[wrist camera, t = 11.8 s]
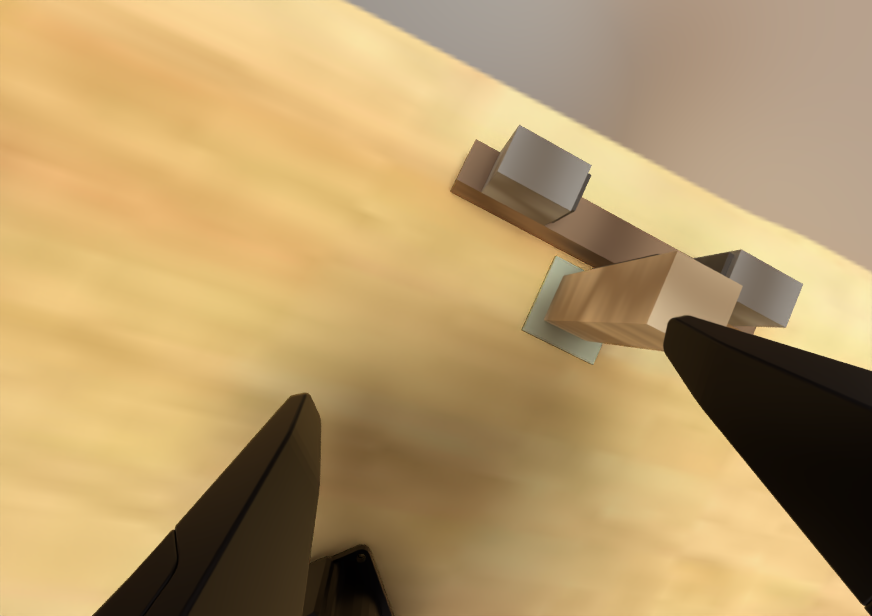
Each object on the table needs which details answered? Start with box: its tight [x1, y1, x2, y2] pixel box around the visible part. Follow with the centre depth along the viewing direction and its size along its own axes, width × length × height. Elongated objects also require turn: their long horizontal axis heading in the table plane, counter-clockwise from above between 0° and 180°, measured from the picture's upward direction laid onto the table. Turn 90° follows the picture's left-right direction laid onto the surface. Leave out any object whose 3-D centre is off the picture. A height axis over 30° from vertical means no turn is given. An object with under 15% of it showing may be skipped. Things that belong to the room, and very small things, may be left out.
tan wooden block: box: [544, 251, 743, 351], centre depth 18 cm, size 3×3×9 cm
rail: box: [450, 125, 803, 365], centre depth 21 cm, size 20×8×5 cm, turn 64°
